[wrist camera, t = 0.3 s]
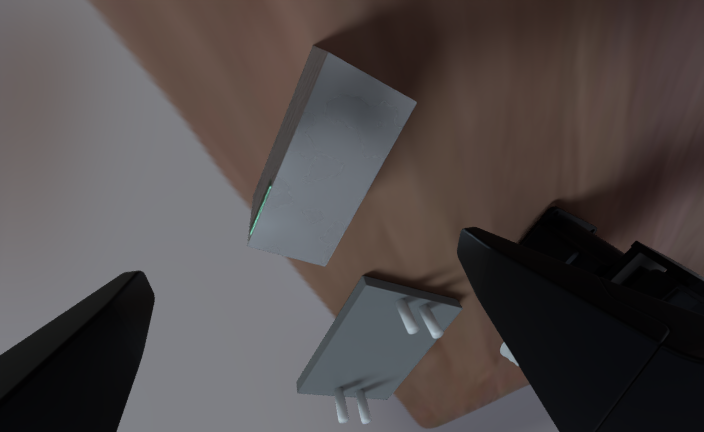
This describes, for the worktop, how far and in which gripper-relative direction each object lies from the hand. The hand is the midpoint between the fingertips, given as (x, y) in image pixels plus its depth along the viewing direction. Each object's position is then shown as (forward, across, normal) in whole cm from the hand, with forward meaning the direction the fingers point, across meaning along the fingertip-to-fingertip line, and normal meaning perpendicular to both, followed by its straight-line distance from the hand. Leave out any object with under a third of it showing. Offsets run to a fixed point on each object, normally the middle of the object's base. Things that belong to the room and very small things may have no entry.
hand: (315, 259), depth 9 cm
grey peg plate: (+13, -6, +22) cm, 26 cm away
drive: (+13, -1, 0) cm, 13 cm away
